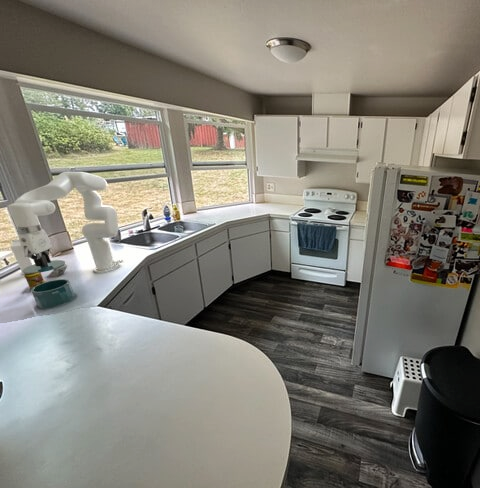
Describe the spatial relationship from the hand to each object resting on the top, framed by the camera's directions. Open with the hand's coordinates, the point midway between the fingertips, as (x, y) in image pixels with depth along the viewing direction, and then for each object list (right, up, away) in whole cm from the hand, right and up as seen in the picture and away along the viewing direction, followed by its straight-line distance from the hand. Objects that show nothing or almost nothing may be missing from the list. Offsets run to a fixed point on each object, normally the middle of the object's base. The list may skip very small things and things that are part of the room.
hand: (43, 264), depth 124 cm
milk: (-49, -8, +37) cm, 62 cm away
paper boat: (-30, -9, +36) cm, 48 cm away
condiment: (-25, -15, +18) cm, 35 cm away
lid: (0, -1, +1) cm, 2 cm away
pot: (-1, -20, +7) cm, 21 cm away
